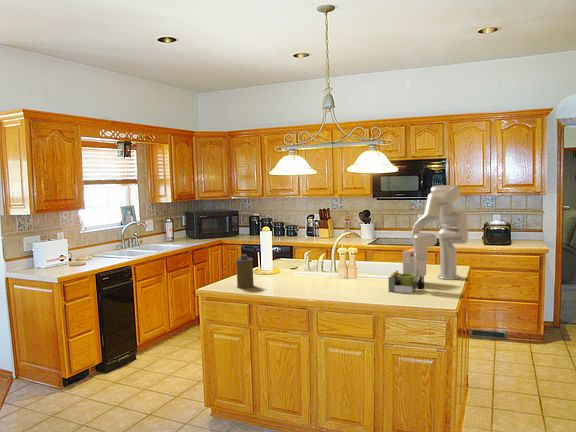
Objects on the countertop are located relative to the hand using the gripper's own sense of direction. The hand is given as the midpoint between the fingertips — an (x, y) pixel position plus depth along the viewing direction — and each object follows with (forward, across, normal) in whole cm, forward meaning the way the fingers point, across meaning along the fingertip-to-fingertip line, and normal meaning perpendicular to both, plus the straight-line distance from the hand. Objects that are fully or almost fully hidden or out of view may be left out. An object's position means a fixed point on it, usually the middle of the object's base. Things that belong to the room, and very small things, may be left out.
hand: (420, 289), depth 265 cm
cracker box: (+2, -17, -9) cm, 19 cm away
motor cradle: (+1, 0, -10) cm, 11 cm away
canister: (+1, +25, -102) cm, 105 cm away
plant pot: (+2, 0, -8) cm, 8 cm away
